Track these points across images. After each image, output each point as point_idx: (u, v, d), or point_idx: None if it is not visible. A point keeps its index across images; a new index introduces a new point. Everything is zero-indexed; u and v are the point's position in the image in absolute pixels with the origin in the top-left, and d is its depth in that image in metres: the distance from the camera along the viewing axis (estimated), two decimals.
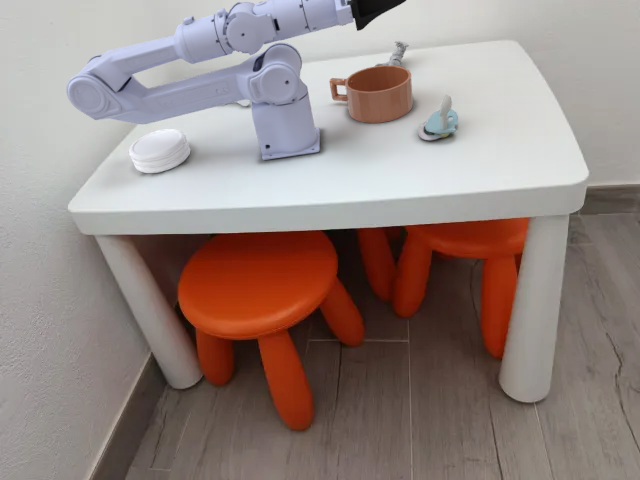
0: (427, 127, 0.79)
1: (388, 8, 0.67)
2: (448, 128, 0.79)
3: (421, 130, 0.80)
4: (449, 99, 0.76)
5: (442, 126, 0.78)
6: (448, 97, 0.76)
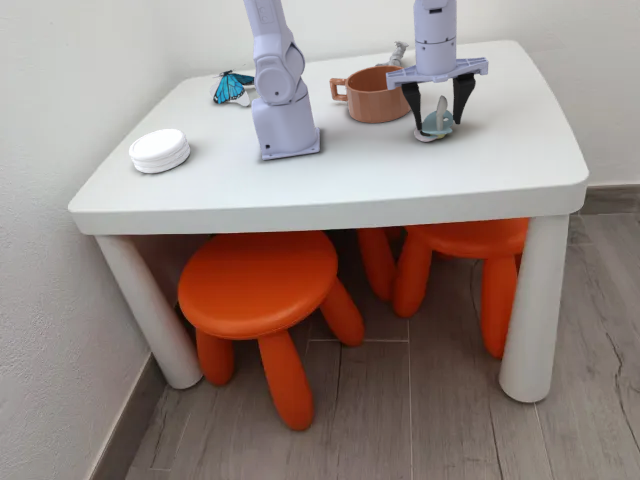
0: (423, 128, 0.79)
1: None
2: (444, 129, 0.79)
3: (417, 132, 0.80)
4: (445, 100, 0.76)
5: (438, 127, 0.78)
6: (444, 98, 0.76)
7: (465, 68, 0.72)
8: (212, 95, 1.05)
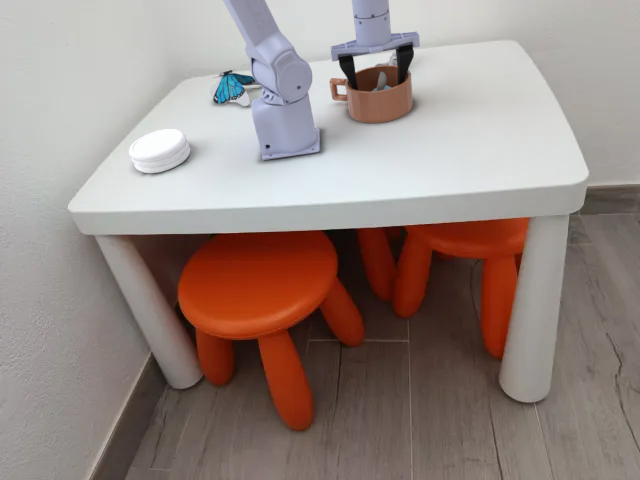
0: None
1: None
2: None
3: None
4: (384, 75, 0.86)
5: None
6: (383, 74, 0.86)
7: (398, 41, 0.81)
8: (212, 95, 1.05)
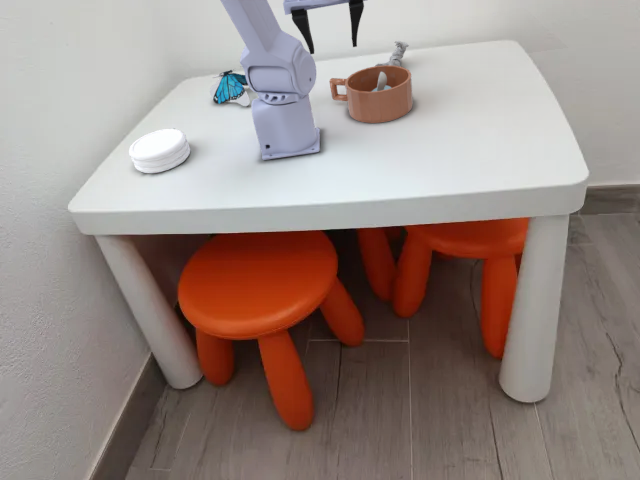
0: None
1: (357, 32, 0.88)
2: None
3: None
4: (384, 75, 0.86)
5: None
6: (383, 74, 0.86)
7: None
8: (212, 95, 1.05)
